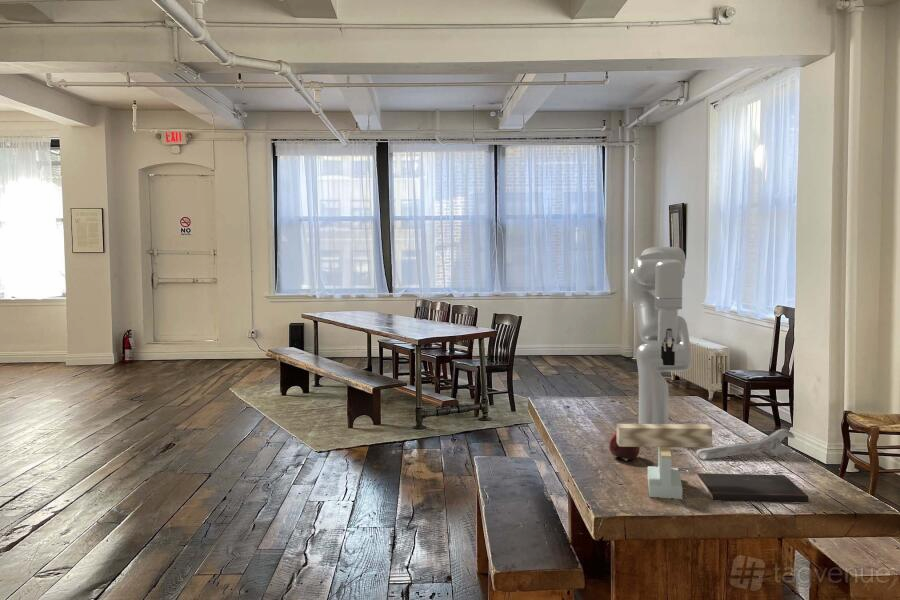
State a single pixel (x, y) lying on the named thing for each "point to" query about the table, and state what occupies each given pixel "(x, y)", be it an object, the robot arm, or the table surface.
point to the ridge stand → (664, 477)
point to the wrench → (751, 446)
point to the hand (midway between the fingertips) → (667, 362)
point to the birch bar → (664, 435)
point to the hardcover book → (751, 488)
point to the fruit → (623, 450)
